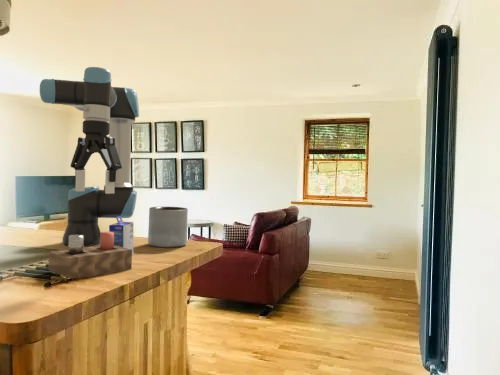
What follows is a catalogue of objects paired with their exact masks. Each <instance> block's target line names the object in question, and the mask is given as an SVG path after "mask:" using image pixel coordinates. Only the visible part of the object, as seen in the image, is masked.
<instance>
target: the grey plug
mask: <svg viewBox="0 0 500 375" xmlns="http://www.w3.org/2000/svg"><path fill="white" fill-rule="evenodd" d="M84 247H85V246H84V235H69V245H68V249H69V250H68V249H67V250H68V254H70V255H77V254H83V248H84Z"/></svg>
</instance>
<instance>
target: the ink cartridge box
mask: <svg viewBox="0 0 500 375" xmlns="http://www.w3.org/2000/svg"><path fill="white" fill-rule="evenodd" d="M115 220H116V221H117V222H115V223H111V224H109V225H108V228H109V229H108V232H114V245H115V246H119V247H123V248H128V249H132V257H133V256H134V221H123V218H121V217H120V216H118V217H116V218H115Z"/></svg>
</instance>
